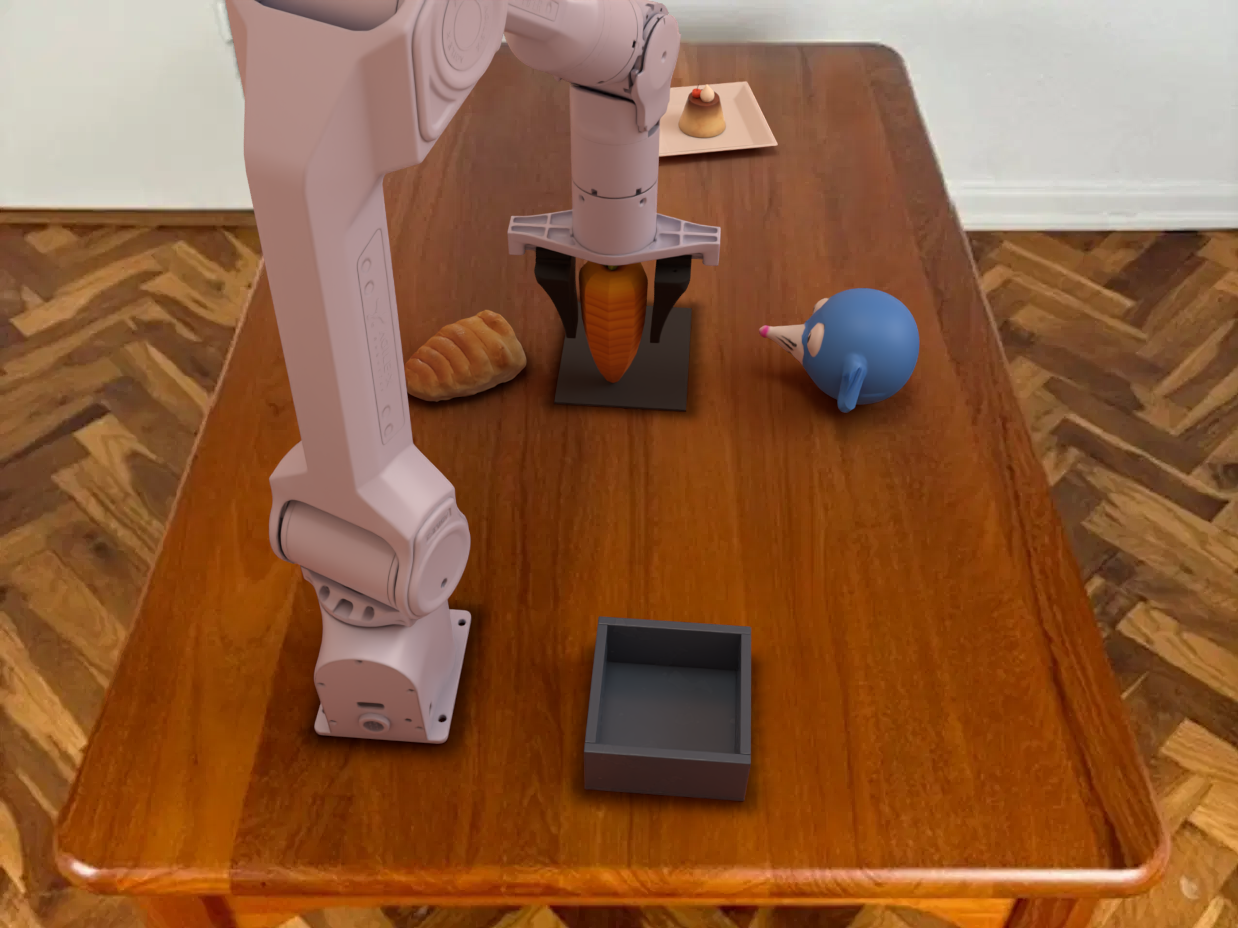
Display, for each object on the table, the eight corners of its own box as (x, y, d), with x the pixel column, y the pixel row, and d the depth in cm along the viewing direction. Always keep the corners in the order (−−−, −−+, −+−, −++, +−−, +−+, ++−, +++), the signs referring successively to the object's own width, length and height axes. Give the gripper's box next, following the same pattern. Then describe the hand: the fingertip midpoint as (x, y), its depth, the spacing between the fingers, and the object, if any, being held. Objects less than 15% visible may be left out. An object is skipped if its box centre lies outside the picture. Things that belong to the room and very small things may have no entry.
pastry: (432, 424, 89) (426, 386, 86) (385, 376, 93) (378, 339, 90) (534, 371, 93) (532, 334, 90) (485, 327, 97) (481, 290, 94)
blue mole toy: (764, 323, 97) (775, 238, 91) (912, 345, 96) (933, 261, 89) (741, 424, 89) (751, 339, 83) (902, 451, 88) (924, 366, 81)
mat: (685, 411, 90) (686, 409, 90) (554, 403, 91) (554, 401, 91) (691, 309, 98) (691, 308, 98) (570, 303, 99) (570, 301, 99)
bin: (744, 801, 69) (750, 764, 65) (584, 789, 69) (583, 751, 66) (745, 666, 75) (751, 626, 72) (598, 655, 75) (598, 615, 72)
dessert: (630, 101, 121) (631, 57, 117) (746, 91, 122) (750, 47, 119) (653, 166, 113) (655, 121, 109) (777, 155, 114) (782, 110, 111)
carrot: (568, 377, 92) (562, 216, 81) (619, 351, 94) (620, 190, 84) (606, 413, 90) (606, 251, 79) (658, 386, 92) (664, 224, 81)
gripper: (726, 146, 81) (713, 302, 91) (513, 135, 82) (523, 292, 91) (724, 207, 76) (710, 365, 86) (498, 195, 77) (510, 353, 87)
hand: (613, 332), depth 88 cm, fingers open, 5 cm apart
